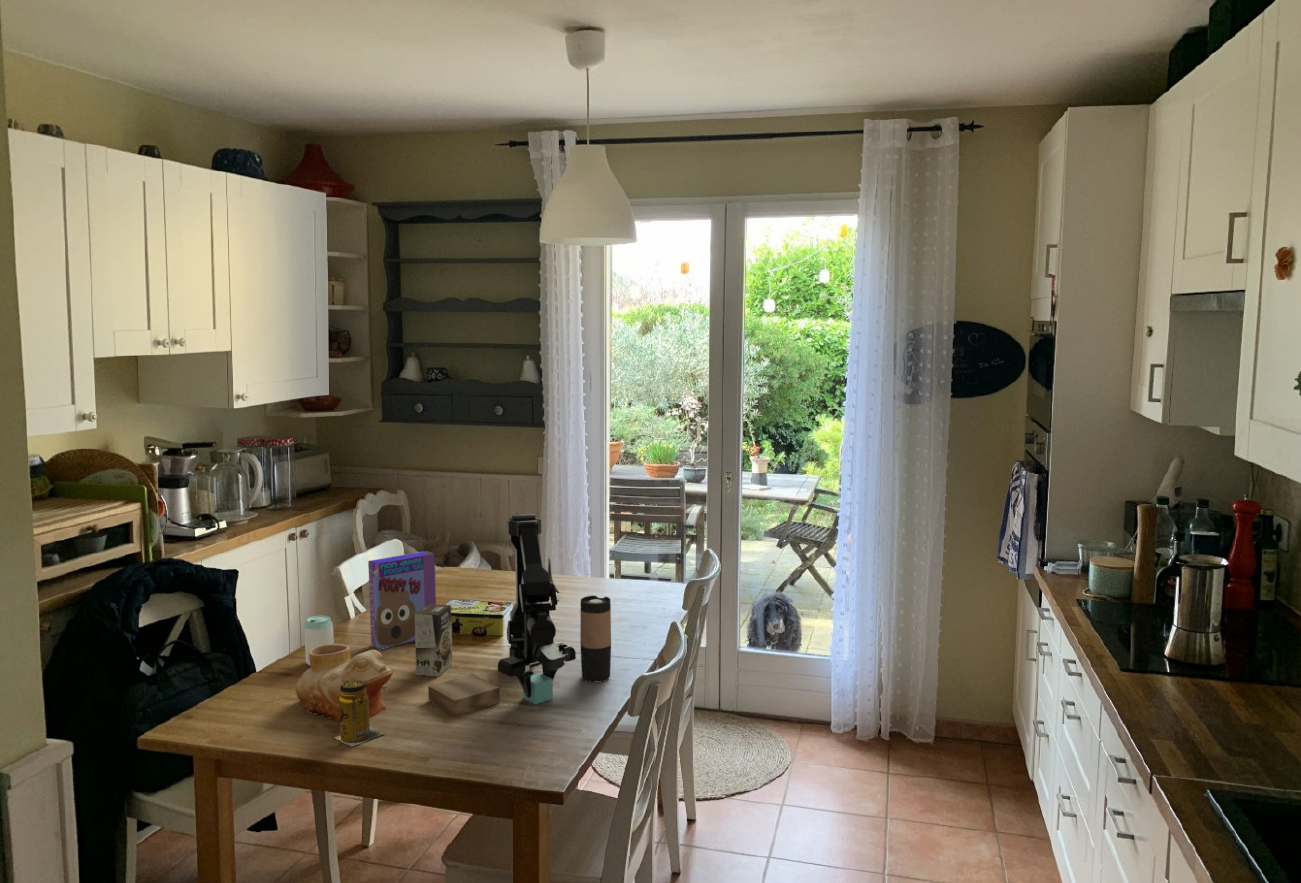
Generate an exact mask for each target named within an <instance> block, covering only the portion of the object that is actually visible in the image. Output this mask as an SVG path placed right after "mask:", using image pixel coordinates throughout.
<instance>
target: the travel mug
mask: <svg viewBox="0 0 1301 883" xmlns="http://www.w3.org/2000/svg"><path fill="white" fill-rule="evenodd" d="M611 609H612V608H611V598H610V597H609V596H604V597H599V596H597V595H587V596H584V597H582V598H581V599H580V626H579V627H580V630H579V632H580V633H579V634H580V639H579V640H580V644H579V645H580V664H581V665H580V667H581V668H580V669H581V678H583V679H582V680H583V681H585V680H587V681H586V682H589V681H591V682H590V683H596V682H595V681H602V682H605V681H604V680H606V681H607V679H608V678H609V677H610V678H611V666H612V665H611V664H612V663H611V661H612V659H611V658H612V655H611V654H612V617H611V616H612V614H611V613H612V610H611ZM610 678H609V679H610ZM609 679H608V680H609Z"/></svg>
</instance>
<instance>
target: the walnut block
mask: <svg viewBox="0 0 1301 883" xmlns="http://www.w3.org/2000/svg"><path fill="white" fill-rule="evenodd" d="M427 686H428V689H427V690H428V693H427V694H428V701H429V700H430V701H431V703H432V702H433V703H432V704H433V705H435V704H436V705H435V706H437V707H439V708H441V709H442V710H444V711H445V710H446V712H447V711H448V712H447V713H449V714H451V715H452V716H454V717H456V715H457V716H460V715H463V714H466V712H467V713H470V712H473V711H476V710H479V708H480V709H483V708H486V707H489V706H488V705H490V706H492V705H491V704H493V705H496V704H499V703H498V702H500V703H501V694H500V693H501V690H500V689H501V688H500V687H499V686H498V685H495V684H494V683H492V682H490V681H488V680H486V679H484V678H481V677H480V676H478V675H476V674H474V673H471V674H467V675H464V676H459V677H456V678H453V679H449V680H445V681H442V682H437V683H435V684H430V685H427ZM430 701H429V702H430ZM495 703H496V704H495ZM482 707H483V708H482ZM472 710H473V711H472ZM469 711H470V712H469ZM462 713H463V714H462Z"/></svg>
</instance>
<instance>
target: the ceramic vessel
mask: <svg viewBox="0 0 1301 883" xmlns="http://www.w3.org/2000/svg"><path fill="white" fill-rule="evenodd" d="M309 659H310V665H309V667H310V668H308V669H307V670H306V671H305V672H304V673H303V674H301V676H300V678H299V680H298V681H297V682H296V684H295V694H296V697H297V698H298V701H300V704H301V705H302V706H303V709H304V710H305V711H306V710H308V711H309V712H312V713H311V714H313V713H316V714H315V715H317V714H318V716H320V715H324V716H323V717H325V718H328V717H331V719H332V720H334V721H337V722H339V723H340V709H339V698H340V696H341V694H340V693H341V689H340V687H341V684H343V683H345V682H347V681H351V680H361V681H364V682H365V683H366V690H367V691H366V693H367V694H368V699H369V719H371V718H373V717H375V716H376V715H378V714H381V713H382V712H384V711H386V709H387V705H386V704H385V702H384V700H383V696H382V695H383V694H382V693H383V691H382V688H383V686H384V685H386V684H387V683H388V682H389V681H390V679H391V677H392V676H393V674H394V672H393V669H392V668H390V667H388V666H386V664H385V661H384V656H383V654H382V653H381V652H380V651H379V650H378V649H377V650H376V649H369V650H367V651H364V652H362V653H359V654H357V655H354V656H353V657H351V648H350V646H348V645H346V644H343V643H342V644H341V643H334V644H325V645H320V646H317V647H314V648H312V649H311V650H310V651H309ZM383 710H384V711H383ZM308 711H307V712H308ZM381 711H382V712H381ZM309 712H308V713H309ZM380 712H381V713H380Z"/></svg>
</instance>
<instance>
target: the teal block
mask: <svg viewBox="0 0 1301 883" xmlns="http://www.w3.org/2000/svg"><path fill="white" fill-rule="evenodd" d="M553 681H554V679H552V678H550V677H548V676H546V675H544V674H543V672H539V673H536V674H533V675H532V676H531V696H530V698H528V697H527V696H526V694H525V692H524V690H523V689H522V698H523V699H524V698H525V699H524V700H526V699H527V700H526V701H528V700H529V701H530V703H531V702H532V704H533V703H534V705H538V703H539V704H541V702H542V703H544V702H543V701H545V702H547V701H546V700H548V701H551V700H553V699H554V690H553V689H554V687H553V686H554V685H553V684H554V683H553ZM552 698H553V699H552ZM550 699H551V700H550ZM529 701H528V702H529Z"/></svg>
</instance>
